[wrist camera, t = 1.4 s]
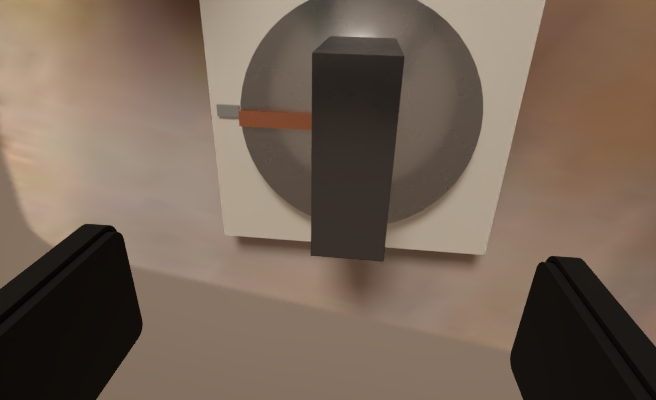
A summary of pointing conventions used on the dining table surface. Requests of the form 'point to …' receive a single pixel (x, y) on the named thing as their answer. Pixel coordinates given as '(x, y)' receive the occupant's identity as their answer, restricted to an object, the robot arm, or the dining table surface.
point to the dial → (360, 116)
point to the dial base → (447, 212)
